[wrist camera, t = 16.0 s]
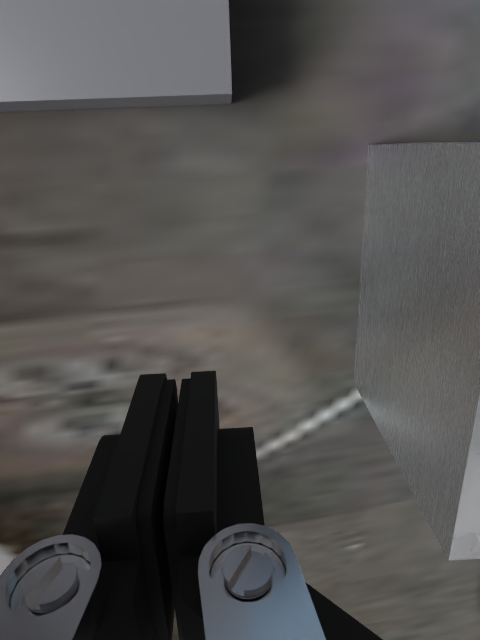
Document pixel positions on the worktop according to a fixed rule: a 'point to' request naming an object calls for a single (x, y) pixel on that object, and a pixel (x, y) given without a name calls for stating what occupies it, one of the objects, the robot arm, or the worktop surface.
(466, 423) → the cover plate
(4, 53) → the slot holder
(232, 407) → the worktop surface
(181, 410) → the robot arm
